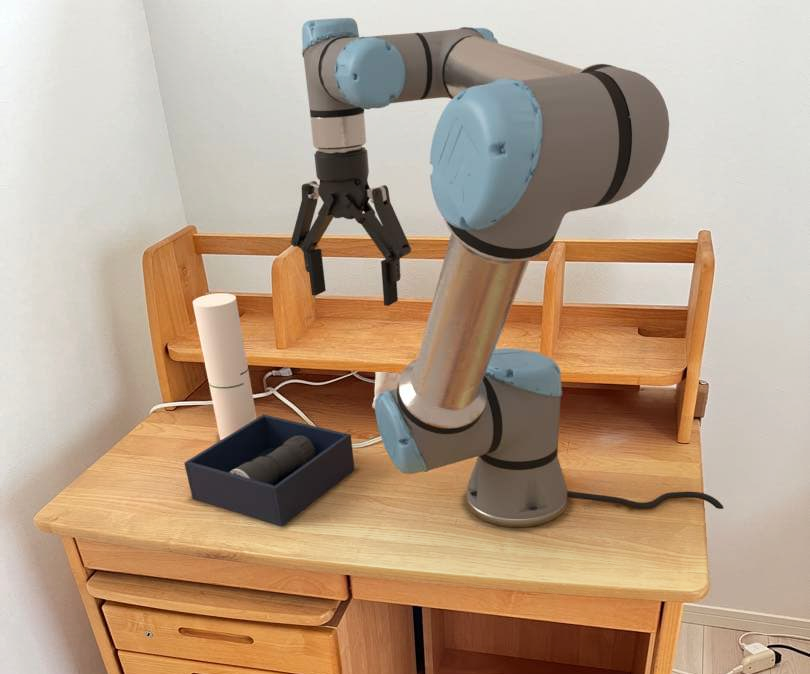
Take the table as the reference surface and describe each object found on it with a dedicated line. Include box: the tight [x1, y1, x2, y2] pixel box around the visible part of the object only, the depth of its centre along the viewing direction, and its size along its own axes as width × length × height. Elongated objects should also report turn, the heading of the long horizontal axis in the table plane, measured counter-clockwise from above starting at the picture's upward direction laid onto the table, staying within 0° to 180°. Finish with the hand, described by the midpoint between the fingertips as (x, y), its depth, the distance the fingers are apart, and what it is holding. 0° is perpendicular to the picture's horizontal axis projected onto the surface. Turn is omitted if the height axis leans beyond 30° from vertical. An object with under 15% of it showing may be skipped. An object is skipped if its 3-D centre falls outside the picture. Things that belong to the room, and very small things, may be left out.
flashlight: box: [229, 436, 315, 485], centre depth 133 cm, size 15×5×5 cm, turn 144°
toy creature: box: [371, 371, 402, 410], centre depth 147 cm, size 12×6×12 cm, turn 168°
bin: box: [183, 413, 355, 527], centre depth 132 cm, size 18×19×7 cm
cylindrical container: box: [192, 292, 258, 441], centre depth 143 cm, size 7×7×25 cm
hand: (354, 298), depth 127 cm, fingers open, 13 cm apart
